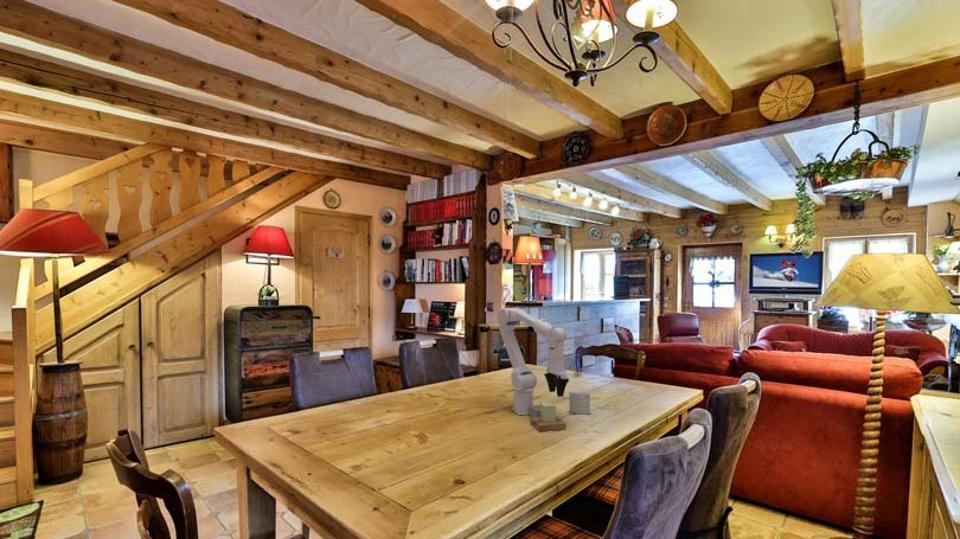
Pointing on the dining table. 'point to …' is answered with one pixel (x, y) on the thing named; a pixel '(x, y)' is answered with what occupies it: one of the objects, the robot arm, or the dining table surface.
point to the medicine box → (579, 402)
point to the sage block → (548, 412)
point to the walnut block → (547, 424)
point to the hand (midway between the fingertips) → (556, 394)
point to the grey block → (535, 411)
